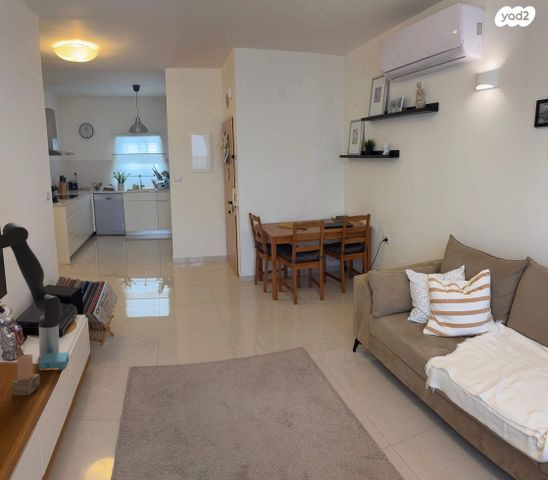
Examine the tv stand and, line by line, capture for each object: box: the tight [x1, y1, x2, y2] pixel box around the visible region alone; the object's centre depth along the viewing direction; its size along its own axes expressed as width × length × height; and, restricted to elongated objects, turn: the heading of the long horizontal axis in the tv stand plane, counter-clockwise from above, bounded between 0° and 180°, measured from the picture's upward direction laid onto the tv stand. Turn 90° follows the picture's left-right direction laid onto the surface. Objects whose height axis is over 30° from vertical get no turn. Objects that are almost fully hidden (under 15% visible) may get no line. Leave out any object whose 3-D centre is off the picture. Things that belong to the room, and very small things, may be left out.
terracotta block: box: [16, 354, 34, 381], centre depth 195 cm, size 5×5×10 cm
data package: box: [38, 352, 70, 371], centre depth 222 cm, size 12×4×12 cm
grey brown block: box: [12, 373, 41, 397], centre depth 196 cm, size 9×7×6 cm
